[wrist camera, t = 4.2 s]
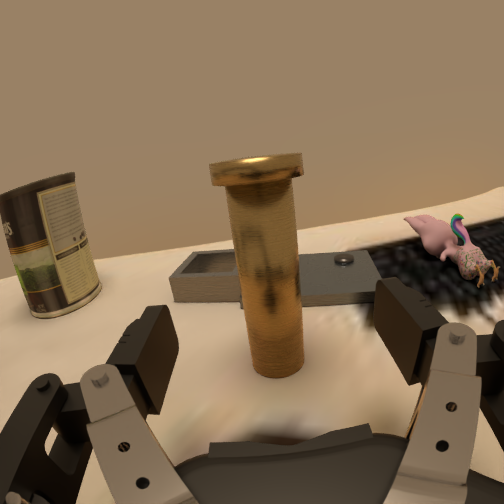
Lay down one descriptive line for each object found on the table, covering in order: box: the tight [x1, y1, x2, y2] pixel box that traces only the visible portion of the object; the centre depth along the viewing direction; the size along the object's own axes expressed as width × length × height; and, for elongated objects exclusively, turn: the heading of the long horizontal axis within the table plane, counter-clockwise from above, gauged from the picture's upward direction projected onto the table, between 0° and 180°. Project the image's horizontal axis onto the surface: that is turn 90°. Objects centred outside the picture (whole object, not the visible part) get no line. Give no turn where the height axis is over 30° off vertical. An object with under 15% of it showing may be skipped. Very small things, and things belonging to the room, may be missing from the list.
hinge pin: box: [209, 153, 304, 378], centre depth 15 cm, size 4×4×12 cm
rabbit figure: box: [404, 214, 499, 288], centre depth 26 cm, size 6×6×15 cm
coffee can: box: [0, 172, 101, 318], centre depth 28 cm, size 10×10×14 cm
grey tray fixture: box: [169, 249, 382, 309], centre depth 27 cm, size 19×9×2 cm, turn 80°
